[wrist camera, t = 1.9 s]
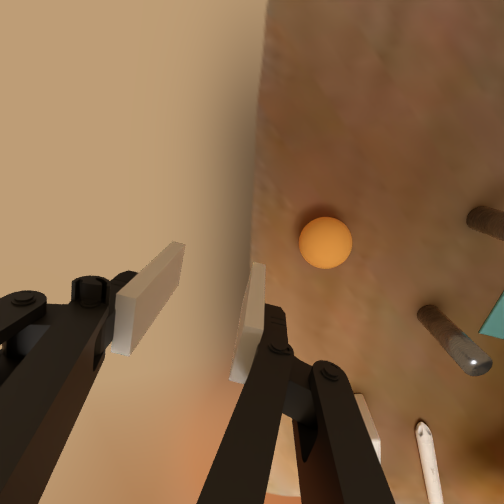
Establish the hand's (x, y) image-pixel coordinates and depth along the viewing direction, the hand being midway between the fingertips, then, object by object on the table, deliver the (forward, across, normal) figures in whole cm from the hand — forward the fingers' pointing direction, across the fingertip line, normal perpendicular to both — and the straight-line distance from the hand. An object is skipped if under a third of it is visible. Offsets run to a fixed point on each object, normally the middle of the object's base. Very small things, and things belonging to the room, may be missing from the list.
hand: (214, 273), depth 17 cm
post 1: (+17, +26, -6) cm, 31 cm away
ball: (+14, +10, 0) cm, 17 cm away
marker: (+17, +36, -30) cm, 50 cm away
